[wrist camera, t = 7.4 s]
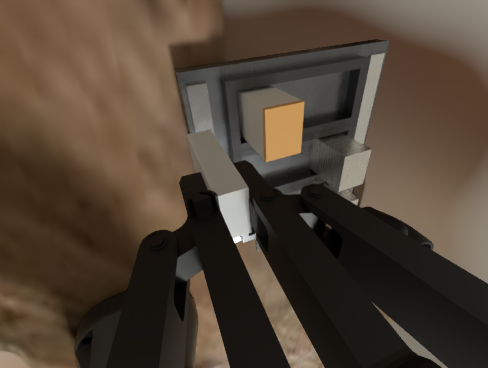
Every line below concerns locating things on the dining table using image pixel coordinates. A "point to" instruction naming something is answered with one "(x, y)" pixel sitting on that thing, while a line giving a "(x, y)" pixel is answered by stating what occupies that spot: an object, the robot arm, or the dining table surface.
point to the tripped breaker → (271, 121)
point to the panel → (315, 112)
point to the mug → (400, 227)
